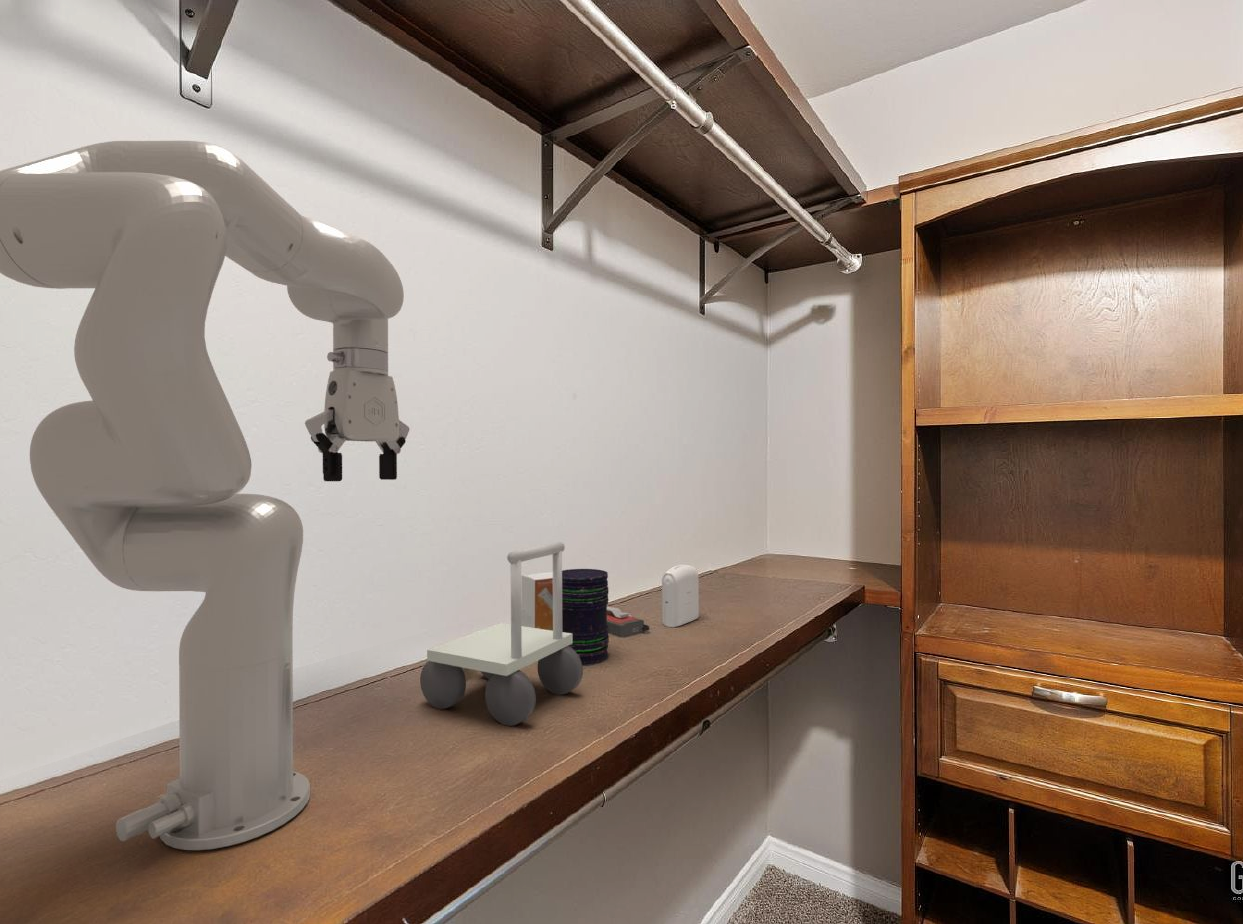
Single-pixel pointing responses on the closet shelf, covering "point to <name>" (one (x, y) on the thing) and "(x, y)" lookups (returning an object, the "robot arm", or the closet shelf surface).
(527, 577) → the small box
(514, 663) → the trolley
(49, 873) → the closet shelf surface
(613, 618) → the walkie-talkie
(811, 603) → the closet shelf surface
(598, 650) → the dark blue cylinder
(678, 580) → the photo printer
